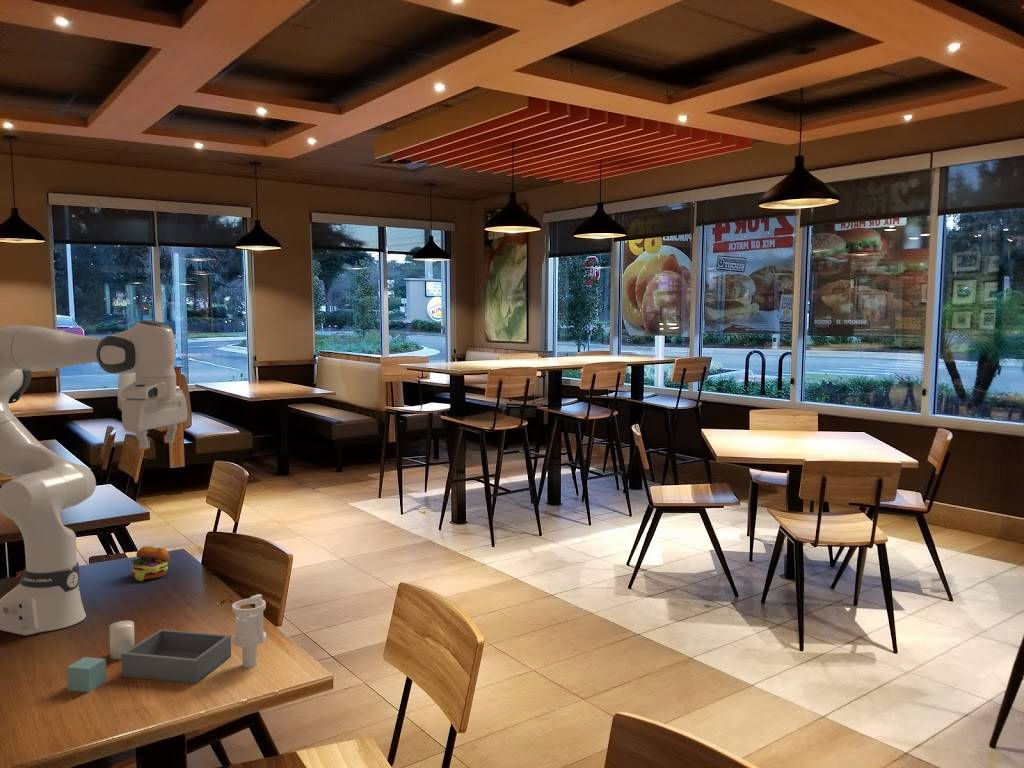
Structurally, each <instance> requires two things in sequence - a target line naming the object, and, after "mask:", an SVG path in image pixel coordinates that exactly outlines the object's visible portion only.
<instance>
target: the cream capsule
mask: <svg viewBox="0 0 1024 768" xmlns="http://www.w3.org/2000/svg"><path fill="white" fill-rule="evenodd" d="M135 643H136V642H135V622H134V621H133V620H120V621H116V622H113V623H112V624H110V625H109V651H110V652H109V653H110V654H109V657H110V659H112V660H122V657H121V654H122V653H123V652H125V651H127V650H128V649H130V648H131V647H133V646H135V645H136V644H135Z"/></svg>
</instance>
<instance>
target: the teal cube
mask: <svg viewBox="0 0 1024 768" xmlns="http://www.w3.org/2000/svg"><path fill="white" fill-rule="evenodd" d="M106 660H107V659H106V658H101V657H100V658H99V657H88V656H84V657H82V658H80V659H79V660H77V661H76V662H73V663H72V664H69V666H67V669H66V671H67V691H73V692H81V693H91V692H92V691H94V690H95V689H97V688H99V687H100V686H101V685H103V684H105V683H106V682H107V661H106Z"/></svg>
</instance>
